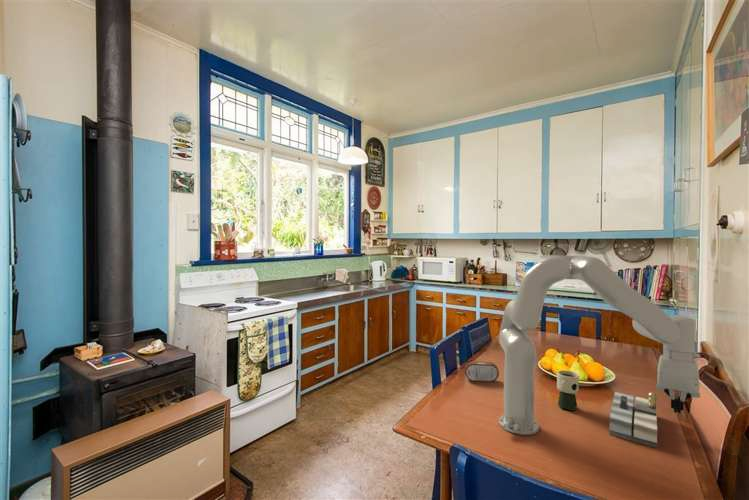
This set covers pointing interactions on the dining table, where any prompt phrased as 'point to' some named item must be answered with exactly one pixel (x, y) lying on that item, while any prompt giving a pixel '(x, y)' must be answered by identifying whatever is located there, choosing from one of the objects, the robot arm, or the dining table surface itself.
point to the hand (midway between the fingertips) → (676, 411)
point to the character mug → (567, 389)
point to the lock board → (633, 420)
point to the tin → (481, 371)
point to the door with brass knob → (651, 405)
